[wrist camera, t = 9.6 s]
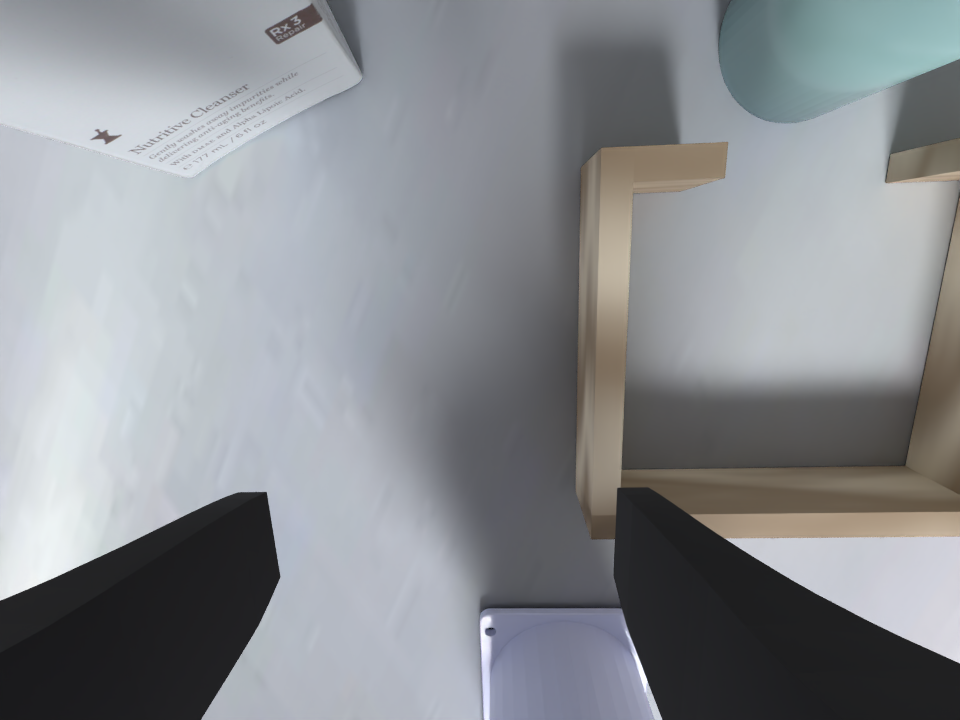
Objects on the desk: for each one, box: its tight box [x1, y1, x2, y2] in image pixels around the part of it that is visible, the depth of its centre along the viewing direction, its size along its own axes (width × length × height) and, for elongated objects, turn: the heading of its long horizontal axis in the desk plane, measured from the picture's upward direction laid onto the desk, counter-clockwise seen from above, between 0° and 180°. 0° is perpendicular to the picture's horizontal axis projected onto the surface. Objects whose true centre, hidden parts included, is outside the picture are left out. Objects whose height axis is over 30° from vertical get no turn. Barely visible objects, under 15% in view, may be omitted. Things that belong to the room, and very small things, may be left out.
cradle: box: [576, 138, 960, 539], centre depth 17 cm, size 14×15×4 cm
